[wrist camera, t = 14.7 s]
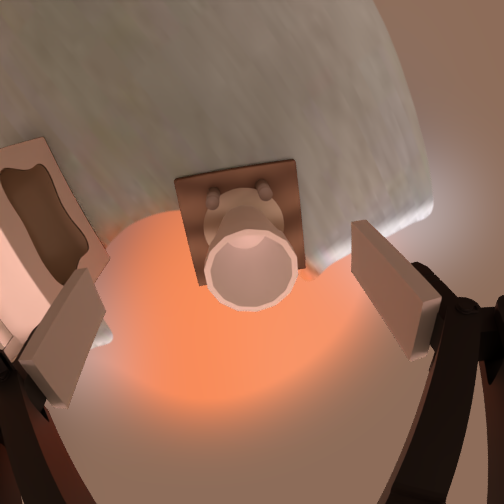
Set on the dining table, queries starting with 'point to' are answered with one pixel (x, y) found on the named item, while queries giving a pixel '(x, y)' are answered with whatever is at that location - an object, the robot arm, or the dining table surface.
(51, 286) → the gable box
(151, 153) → the dining table surface
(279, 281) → the foam cup
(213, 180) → the pin board
